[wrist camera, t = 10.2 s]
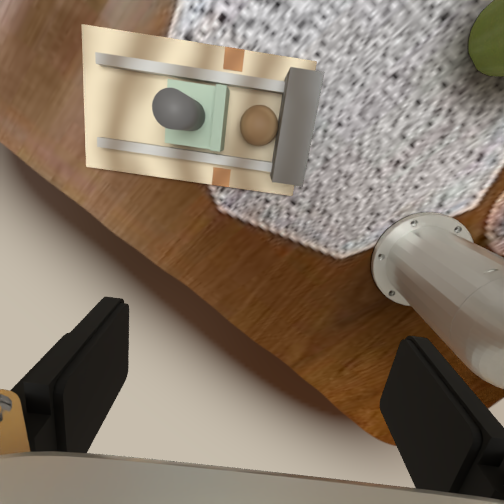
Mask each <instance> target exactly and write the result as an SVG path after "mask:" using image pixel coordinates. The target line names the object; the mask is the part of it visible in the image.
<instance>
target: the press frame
mask: <svg viewBox="0 0 504 504" xmlns="http://www.w3.org/2000/svg"><path fill="white" fill-rule="evenodd" d="M82 50H83V82H84V114H85V146H86V167H92V168H99V169H106V170H113V171H120V172H127V173H134V174H141V175H148V176H155V177H162V178H169V179H176V180H183V181H190V182H197V183H204V184H211V185H217V186H224V187H232V188H239V189H246V190H253V191H260V192H267V193H274V194H281V195H288V196H292V195H293V190H294V185H296V186H303V181H304V176H305V171H306V166H307V160H308V155H309V150H310V145H311V139H312V134H313V129H314V124H315V119H316V113H317V108H318V103H319V98H320V92H321V87H322V82H323V77H324V72H320V71H315V69H316V63H317V61H311V60H304V59H298V58H292V57H285V56H279V55H273V54H266V53H260V52H254V51H248V50H243V49H236V48H230V47H222V46H216V45H210V44H203V43H197V42H191V41H184V40H178V39H172V38H166V37H159V36H153V35H147V34H140V33H134V32H128V31H121V30H115V29H109V28H102V27H96V26H90V25H84V24H82ZM168 79H172V80H179V81H185V82H192V83H198V84H205V85H211V86H216V84H221V85H227V87H228V89H229V90H230V96H229V105H228V114H227V124H226V133H225V143H224V150H223V151H221V152H218V151H211V150H210V149H204V148H198V147H191V146H184V145H177V144H170V143H165V127H163V126H161V125H160V124H159V123H158V122H157V120H156V119H155V117H154V115H153V111H152V102H153V99H154V97H155V95H156V94H157V93H158V92H159V91H160V90H162V89H164V88H167V81H168Z"/></svg>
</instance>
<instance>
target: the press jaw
mask: <svg viewBox="0 0 504 504" xmlns="http://www.w3.org/2000/svg"><path fill="white" fill-rule="evenodd" d="M229 96H230V90H229V89H228V87H227V85H221V84H216V86H211V85H205V84H198V83H192V82H185V81H179V80H172V79H168V81H167V88H164V89H162V90H160V91H159V92H158V93H157V94H156V95H155V97H154V99H153V102H152V111H153V115H154V117H155V119H156V120H157V122H158V123H159V124H160V125H161V126H163V127H165V143H170V144H177V145H184V146H191V147H198V148H204V149H210V150H211V151H218V152H221V151H223V150H224V143H225V133H226V124H227V114H228V105H229Z"/></svg>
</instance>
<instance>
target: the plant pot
mask: <svg viewBox="0 0 504 504" xmlns="http://www.w3.org/2000/svg"><path fill="white" fill-rule="evenodd" d="M468 50H469V55H470V57H471V59H472V61H473V63H474V65H475V67H476V69H477V70H478V71H480V72H481V73H483V74H485V75H488V76H504V0H494V1H493V2H491V3H490V4H489V5H488V6H487V7H486V8H485V9H484V10H483V11H482V12H481V13H480V15H479V16H478V18H477V20H476V21H475V23H474V25H473V27H472V29H471V32H470V37H469V44H468Z"/></svg>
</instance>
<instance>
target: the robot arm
mask: <svg viewBox="0 0 504 504" xmlns="http://www.w3.org/2000/svg"><path fill="white" fill-rule="evenodd" d="M411 221H413V222H412V223H411ZM379 254H381V255H380V256H378V255H379ZM371 270H372V275H373V279H374V281H375V283H376V285H377V287H378V288H379V289H380V290H381V292H382V293H383V294H384V295H385V296H386V297H387V298H389V299H391V300H392V301H394V302H396V303H399V304H402V305H406V306H411V307H412V308H413V309H414V310H415V311H416V312H417V313H418V314H419V315H420V316H421V317H422V318H423V320H424V321H425V322H426V323H427V324H428V325H429V326H430V327H431V328H432V329H433V330H434V332H435V333H436V334H437V335H438V336H439V337H440V338H441V339H442V340H443V341H444V342H445V343H446V345H447V346H448V347H449V348H450V349H451V350H452V351H453V352H454V353H455V354H456V355H457V357H458V358H460V360H461V361H462V362H463V363H464V364H465V365H466V366H467V367H468V368H469V369H470V370H471V371H472V372H473V373H475V374H476V375H477V376H479V377H480V378H481V379H483V380H484V381H486V382H488V383H490V384H492V385H494V386H496V387H499V388H502V389H504V258H503V257H501V256H499V255H497V254H495V253H493V252H491V251H489V250H487V249H485V248H483V247H481V246H478V245H476V244H474V243H473V239H472V237H471V235H470V233H469V231H468V230H467V229H466V228H465V226H464V225H462V224H461V223H460V222H459V221H458V220H456V219H453V218H451V217H449V216H447V215H444V214H441V213H434V212H426V213H418V214H414V215H410V216H408V217H406V218H403V219H401V220H400V221H398V222H397V223H395V224H393V225H392V226H391V227H390V228H389V229H388V230H387V231H386V232H385V233H384V234H383V235H382V237H381V238H380V239H379V241H378V243H377V245H376V246H375V249H374V252H373V255H372V261H371ZM128 350H129V305H128V304H125V303H124V300H123V299H120V298H112V297H104V298H103V299H102V300H101V301H100V302H99V303H98V304H97V305H96V306H95V307H94V308H93V309H92V310H91V311H90V312H89V313H88V314H87V316H86V317H85V318H84V319H83V320H82V321H81V322H80V323H79V324H78V325H77V326H76V327H75V328H74V329H73V330H72V331H71V332H70V333H67V334H65V335H64V336H63V337H62V338H61V339H60V340H59V341H58V342H57V343H56V344H55V345H54V346H53V347H52V348H51V349H50V350H49V351H48V352H47V353H46V354H45V355H44V356H43V358H41V360H40V361H39V362H38V363H37V364H36V365H35V366H34V367H33V368H32V369H31V370H30V371H29V372H28V373H27V374H26V375H25V376H24V377H23V378H22V379H21V380H20V381H19V382H18V383H17V384H16V385H15V386H14V388H13V389H11V390H10V391H9V390H4V389H0V504H504V428H503V426H502V425H501V424H500V423H499V422H498V420H497V419H496V418H495V417H494V416H493V415H492V413H491V412H490V411H489V410H488V409H487V408H486V406H485V405H484V404H483V403H482V402H481V401H480V399H479V398H478V397H477V396H476V395H475V393H474V392H473V391H472V390H471V389H470V388H469V386H468V385H467V384H466V383H465V382H464V381H463V379H462V378H461V377H460V376H459V375H458V374H457V372H456V371H455V370H454V369H453V368H452V367H451V365H450V364H449V363H448V362H447V361H446V359H445V358H444V357H443V356H442V355H441V354H440V352H439V351H438V350H437V349H436V348H435V347H434V345H433V344H432V343H431V342H430V341H429V340H428V339H427V338H423V337H415V336H408V337H407V338H406V339H403V340H402V341H401V342H400V345H399V347H398V350H397V353H396V356H395V359H394V362H393V365H392V368H391V370H390V373H389V376H388V379H387V382H386V385H385V388H384V391H383V393H382V396H381V399H380V410H381V413H382V415H383V417H384V419H385V421H386V424H387V426H388V428H389V430H390V432H391V435H392V437H393V439H394V441H395V443H396V445H397V448H398V450H399V452H400V454H401V456H402V459H403V461H404V463H405V465H406V467H407V470H408V472H409V474H410V476H411V478H412V481H413V482H414V485H415V487H416V488H408V487H400V486H391V485H383V484H374V483H366V482H357V481H349V480H340V479H331V478H321V477H313V476H304V475H295V474H286V473H277V472H268V471H259V470H250V469H241V468H231V467H222V466H213V465H203V464H192V463H184V462H175V461H165V460H156V459H146V458H134V457H125V456H114V455H103V454H90V453H87V451H88V449H89V448H90V446H91V444H92V442H93V440H94V438H95V436H96V434H97V433H98V431H99V429H100V427H101V425H102V423H103V421H104V420H105V418H106V415H107V414H108V412H109V410H110V408H111V406H112V405H113V403H114V401H115V399H116V397H117V395H118V393H119V392H120V390H121V388H122V386H123V384H124V382H125V380H126V377H127V374H128Z"/></svg>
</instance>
